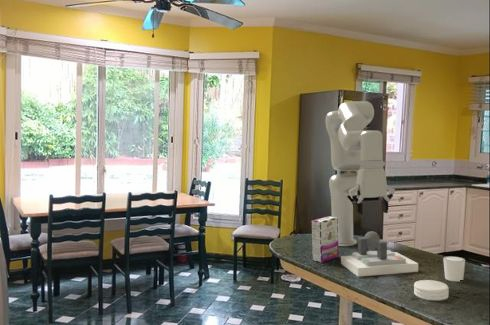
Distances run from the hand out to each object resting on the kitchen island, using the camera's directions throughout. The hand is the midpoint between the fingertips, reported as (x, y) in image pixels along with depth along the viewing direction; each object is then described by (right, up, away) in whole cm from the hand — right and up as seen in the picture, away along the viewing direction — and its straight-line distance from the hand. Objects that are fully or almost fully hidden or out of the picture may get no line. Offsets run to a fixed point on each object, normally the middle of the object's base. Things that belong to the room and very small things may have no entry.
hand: (372, 213), depth 165 cm
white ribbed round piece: (+12, -24, -21) cm, 34 cm away
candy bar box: (-13, -21, +21) cm, 32 cm away
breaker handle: (+4, -17, +3) cm, 18 cm away
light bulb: (+7, -20, +24) cm, 32 cm away
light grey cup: (+26, -22, -7) cm, 35 cm away
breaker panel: (+4, -21, +8) cm, 23 cm away
